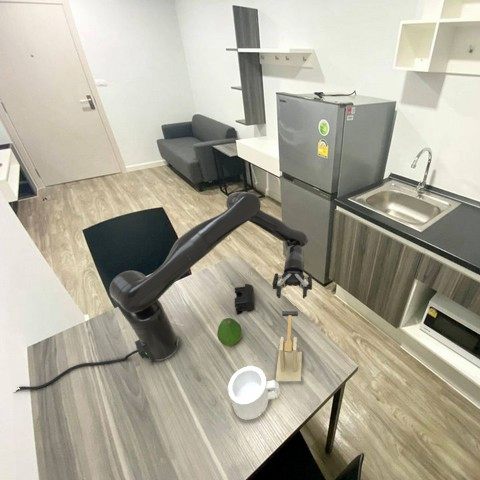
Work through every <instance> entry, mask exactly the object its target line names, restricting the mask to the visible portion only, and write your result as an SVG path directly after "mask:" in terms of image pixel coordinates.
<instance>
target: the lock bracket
mask: <svg viewBox="0 0 480 480" xmlns="http://www.w3.org/2000/svg"><path fill="white" fill-rule="evenodd" d="M284 347H285V337H284V336H280V339H279V343H278V347H277V349H278V355H277V364H276V373H275V379H274V380H275V381H276V382H302V363H303V351H298V350H299V344H298V337H297V336H293V341H292V352H285V351H284Z"/></svg>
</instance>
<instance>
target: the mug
mask: <svg viewBox="0 0 480 480" xmlns="http://www.w3.org/2000/svg"><path fill="white" fill-rule="evenodd" d="M275 380H276V379H273V380H268V381H267V377H266V374H265V372H264V371H263V370H262V368H260V367H258V366H255V365H247V366H244V367H241V368H239V369H238V370H236V371H235V372H234V373H233V374H232V376H231V377H230V380H229V381H228V386H227V392H228V396H229V399H230V402H231V405H232V408H233V411H234V413H235V414H236V416H237V417H239V418H240V419H243V420H246V421H247V420H254V419H256V418H258V417H259V416H261V415H262V414H263V413H264V412H265V410H266V409H267V407H268V404H269V401H270V400H274V399H278V398H279V396H280V395H281V391H280V390H281V389H280V382H279V381H275ZM273 389H274V390H273ZM269 390H271V391H269Z"/></svg>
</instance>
